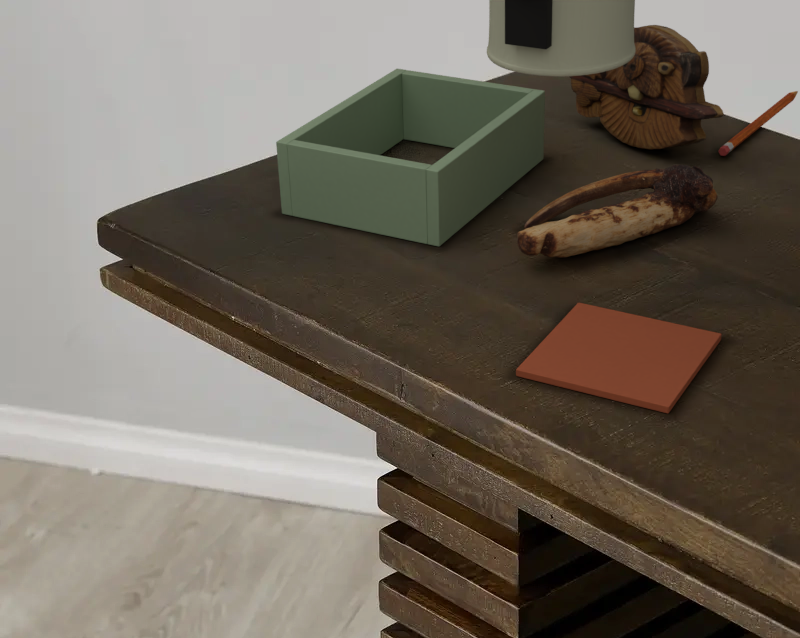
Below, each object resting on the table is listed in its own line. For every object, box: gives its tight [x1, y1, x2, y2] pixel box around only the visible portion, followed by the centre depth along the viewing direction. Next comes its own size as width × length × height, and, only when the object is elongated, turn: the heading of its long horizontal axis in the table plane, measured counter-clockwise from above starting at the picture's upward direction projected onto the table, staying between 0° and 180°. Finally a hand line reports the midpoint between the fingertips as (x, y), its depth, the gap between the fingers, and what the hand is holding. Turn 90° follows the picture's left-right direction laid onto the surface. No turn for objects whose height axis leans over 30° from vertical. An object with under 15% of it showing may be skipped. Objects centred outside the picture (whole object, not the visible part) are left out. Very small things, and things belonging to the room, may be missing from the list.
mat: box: [515, 302, 723, 414], centre depth 88 cm, size 10×10×1 cm
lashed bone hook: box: [516, 163, 719, 259], centre depth 103 cm, size 9×5×18 cm
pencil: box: [718, 90, 799, 157], centre depth 122 cm, size 1×18×1 cm, turn 146°
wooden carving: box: [568, 24, 725, 150], centre depth 117 cm, size 16×5×10 cm, turn 40°
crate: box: [275, 68, 546, 247], centre depth 111 cm, size 14×19×6 cm
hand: (561, 22), depth 86 cm, fingers closed on can, 9 cm apart
